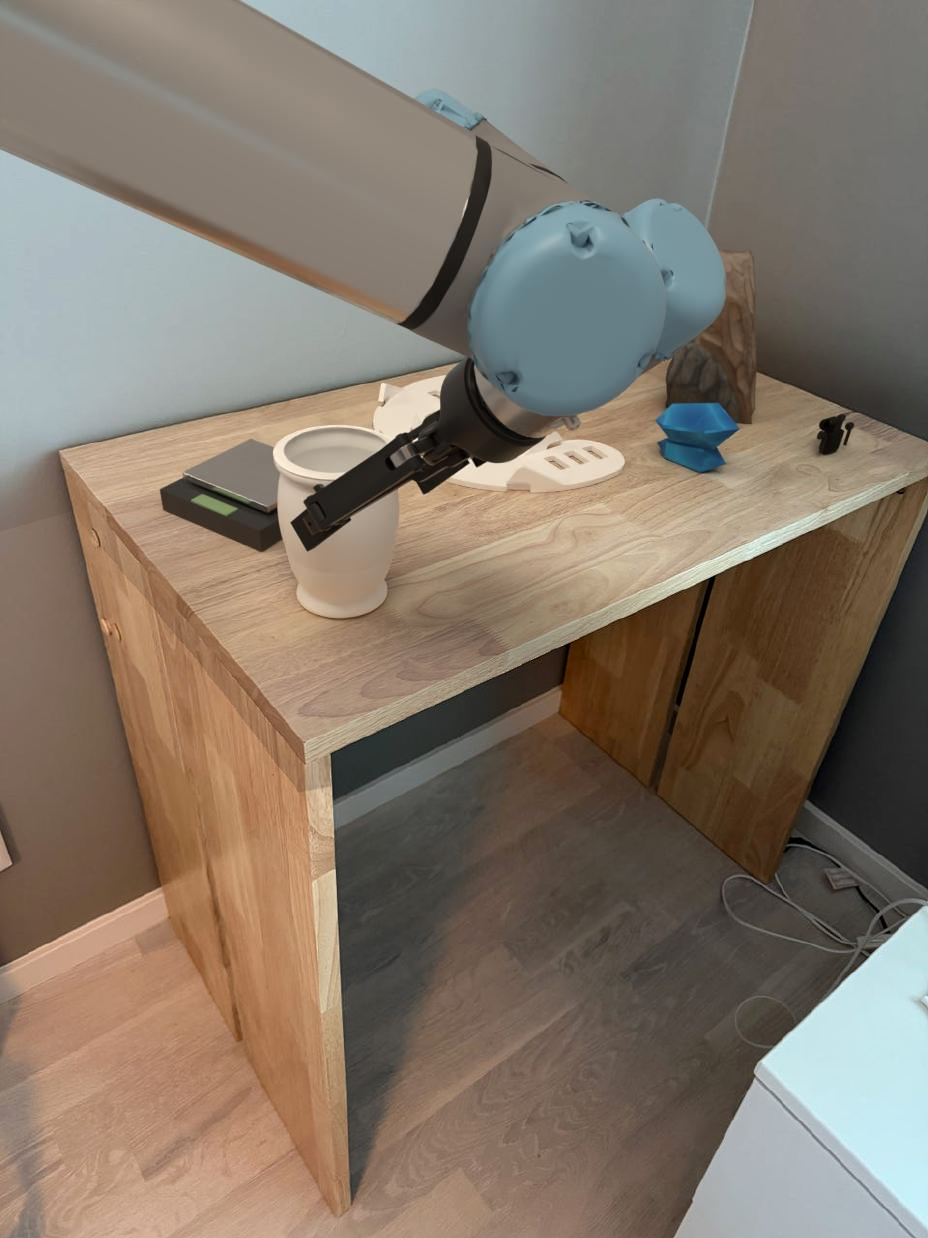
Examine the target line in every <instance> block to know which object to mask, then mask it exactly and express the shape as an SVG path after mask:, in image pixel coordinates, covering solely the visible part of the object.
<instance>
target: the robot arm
mask: <svg viewBox="0 0 928 1238" xmlns="http://www.w3.org/2000/svg"><path fill="white" fill-rule="evenodd" d="M0 151H3V152H5V153H7V154H10V155H12V156H14V157H16V158H19V159H21V160H23V161H25V162H28V163H30V164H32V165H34V166H37V167H39V168H41V169H43V170H45V171H47V172H48V171H49V172H51V173H53V174H55V175H57V176H59V177H62V178H64V179H66V180H68V181H71V182H73V183H76V184H77V185H79V186H83V187H85V188H87V189H89V190H91V191H93V192H96V193H98V194H101V195H103V196H105V197H108V198H110V199H112V200H113V201H116V202H119V203H121V204H123V205H125V206H128V207H130V208H131V209H135V210H137V211H139V212H141V213H144V214H146V215H148V216H151V217H152V218H155V219H157V220H159V221H162V222H164V223H166V224H168V225H170V226H173V227H175V228H177V229H179V230H182V231H185V232H187V233H188V234H189V233H190V234H191V235H193V236H195V237H197V238H200V239H202V240H204V241H207V242H208V243H211V244H214V245H215V246H218V247H221V248H223V249H225V250H228V251H229V252H232V253H234V254H236V255H239V256H241V257H243V258H245V259H248V260H249V261H252V262H255V263H257V264H258V265H259V264H260V265H262V266H264V267H266V268H269V269H271V270H273V271H275V272H277V273H280V274H282V275H284V276H286V277H289V278H291V279H293V280H295V281H298V282H301V283H302V284H304V285H307V286H309V287H312V288H314V289H316V290H318V291H320V292H322V293H325V294H327V295H329V296H332V297H333V298H336V299H339V300H341V301H343V302H345V303H348V304H349V305H352V306H354V307H357V308H359V309H361V310H363V311H366V312H368V313H370V314H372V315H375V316H377V317H379V318H381V319H383V320H386V321H389V322H391V323H393V324H395V325H397V326H400V327H402V328H404V329H407V330H408V331H410V332H412V333H414V334H416V335H418V336H420V337H421V338H424V339H426V340H429V341H431V342H433V343H435V344H438V345H440V346H441V347H443V348H447V349H448V350H451V351H453V352H455V353H458V354H460V355H462V356H464V358H463V359H462V360H461V361H460V362H458V363H457V364H456V365H455V366H454V367H453V368H452V369H450V370H449V372H448V373H447V374H445V375H446V377H445V379H444V381H443V383H442V387H441V391H440V397H439V399H440V410H438V411H436V412H434V413H433V414H431V415H429V416H428V417H426V418H425V419H424V420H423V422H422V424H421V425H420V426H418V427H417V428H415V429H413V430H412V431H410V432H408V433H407V432H406V433H405V432H404V433H400V434H398V435H397V436H395V437H396V438H395V439H393V440H392V441H391V442H389V443H388V444H387V445H386V446H384V447H383V448H382V449H381V450H379V451H378V452H376V453H375V454H373V455H372V456H370V457H369V458H367V459H366V460H364V461H363V462H361V463H360V464H358V465H357V466H355V467H354V468H352V469H351V470H349V471H348V472H346V473H345V474H343V475H342V476H340V477H339V478H337V479H336V480H334V481H333V482H331V483H330V484H328V485H327V486H325V487H324V486H323V484H317V485H315V486H314V487H313V489H314V491H315V492H316V493H315V494H313V495H310V496H308V497H307V499H305V500H304V501H303V503H304V504H305V506H306V508H307V509H305V510H304V511H303V512H302V513H301V514H300V515H298V516H297V517H296V518H295V519H294V520H293V521H291V522H290V523H291V525H292V527H293V528H294V530H295V532H296V534H297V535H298V537H299V539H300V540H301V542H302V544H303V546H304V547H305V549H306V551H307V552H308V551H310V550H312V549H314V548H315V547H317V546H318V545H319V544H321V543H322V542H323V541H325V540H326V539H327V538H329V537H330V536H331V535H333V534H334V533H335V532H337V531H338V530H339V529H340V528H342V527H343V526H344V525H346V524H347V523H348V522H350V521H351V518H350V517H352V516H353V515H355V514H357V513H358V512H360V511H362V510H363V509H365V508H367V507H368V506H370V505H372V504H373V503H375V502H377V501H378V500H380V499H382V498H383V497H385V496H387V495H388V494H390V493H392V492H393V491H395V490H397V489H398V490H399V489H400V488H402V487H403V486H405V485H406V484H408V483H410V482H412V481H414V482H415V483H416V484H417V486H418V488H419V490H420V491H421V494H422V495H423V496H424V495H427V494H428V493H430V492H431V491H433V490H434V489H436V488H438V487H439V486H440V485H442V484H443V483H445V481H446V480H447V479H449V478H450V477H451V476H453V475H454V474H456V473H457V472H458V471H460V470H461V469H463V468H464V467H466V466H467V465H468V464H470V462H469V461H468V459H472V461H473V463H474V465H475V466H476V468H477V467H479V466H481V465H483V464H485V463H486V462H490V463H506V462H509V461H512V460H514V459H515V458H517V457H518V456H520V455H521V454H523V453H524V452H526V451H527V450H529V449H530V448H532V447H533V446H535V445H536V444H538V443H539V442H541V441H542V440H543V439H544V438H545V437H546V436H547V435H549V434H551V433H553V432H554V431H556V432H557V430H559V429H561V428H562V427H563V426H565V428H566V429H567V430H568V431H571V432H573V431H575V430H578V429H579V428H580V426H581V424H582V422H581V419H580V418H579V417H578V416H579V415H580V414H583V413H587V412H591V411H594V410H596V409H598V408H600V407H603V406H605V405H606V404H608V403H610V402H611V401H613V400H615V399H616V398H617V397H619V396H620V395H621V394H623V393H624V392H625V391H627V389H628V388H629V387H631V385H633V384H634V383H635V382H636V380H638V379H639V377H641V376H642V375H643V374H646V373H647V372H649V371H650V370H652V369H654V368H655V367H656V366H658V365H660V364H661V363H663V362H666V361H669V360H670V359H672V357H673V355H674V354H675V353H676V352H677V351H678V350H680V349H681V348H682V347H684V346H685V345H686V344H688V343H689V342H690V341H692V340H693V339H694V338H696V337H697V336H698V335H700V334H701V332H703V331H704V330H705V329H706V328H707V327H709V326H710V325H711V324H712V323H713V322H714V321H715V320H716V319H717V317H718V316H719V314H720V313H721V311H722V309H723V306H724V303H725V299H726V291H725V286H726V273H725V269H724V265H723V261H722V258H721V256H720V253H719V251H718V249H719V248H718V246H717V244H716V243H715V241H714V239H713V237H712V236H711V234H710V233H709V232H708V230H707V229H706V227H705V226H704V225H703V223H702V222H701V221H700V220H699V219H698V218H697V217H696V216H695V215H694V214H693V213H692V212H690V211H689V210H688V209H687V208H685V207H684V206H683V205H681V204H680V203H679V204H678V203H676V202H672V203H668V202H667V201H666V199H662V198H652V199H648V200H646V201H644V202H641V203H640V204H639V205H637V206H635V207H634V208H632V209H630V210H627V211H625V212H624V213H623V214H622V215H620V214H618V213H617V212H615V211H613V210H610V209H608V208H607V207H605V206H603V205H602V204H600V203H598V202H595V201H593V199H591V198H590V197H588V196H586V195H585V194H584V193H582V192H581V191H580V190H578V189H577V188H575V187H574V186H572V185H570V184H569V183H568V182H567V181H566V180H565V179H564V178H563V177H562V176H560V175H558V174H557V173H555V171H553V170H552V169H550V168H549V167H547V166H546V165H545V164H544V163H543V162H541V161H540V160H538V159H537V158H536V157H535V156H533V155H531V154H530V153H529V152H527V151H526V150H525V149H523V147H521V146H520V145H518V144H517V143H516V142H514V141H513V140H512V139H511V138H509V137H508V136H507V135H506V134H504V132H502V131H500V130H499V129H498V128H497V127H495V126H494V125H493V124H492V123H491V122H489V121H488V119H487V118H486V117H485V116H484V115H483V114H481V113H480V112H478V111H473V110H472V109H470V108H469V107H467V106H466V105H465V104H463V103H461V102H460V101H458V100H457V99H456V98H454V97H453V96H451V95H450V94H449V93H447V92H445V91H444V90H441V89H437V88H430V89H426V90H424V91H422V92H420V93H419V94H417V95H416V96H415V97H414V98H413V97H411V96H410V95H408V94H406V93H404V92H402V91H401V90H399V89H398V88H395V87H394V86H393V85H390V84H388V83H386V82H385V81H383V80H382V79H380V78H378V77H377V76H374V75H373V74H371V73H369V72H367V71H366V70H364V69H363V68H360V67H358V66H357V65H355V64H353V63H352V62H350V61H348V60H346V59H345V58H343V57H341V56H339V55H338V54H336V53H334V52H332V51H330V50H329V49H327V48H326V47H324V46H322V45H321V44H318V43H317V42H315V41H313V40H311V39H309V38H308V37H306V36H304V35H302V34H301V33H299V32H297V31H295V30H294V29H292V28H290V27H289V26H287V25H286V24H283V23H281V22H279V21H278V20H276V19H275V18H273V17H271V16H269V15H267V14H266V13H264V12H262V11H260V10H259V9H257V8H255V7H253V6H251V5H250V4H249V3H247V2H244V1H243V0H0ZM417 438H418V440H417V441H415V442H412V441H413V440H415V439H417ZM421 456H422V457H423V458H422V457H421Z"/></svg>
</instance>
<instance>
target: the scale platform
mask: <svg viewBox="0 0 928 1238" xmlns="http://www.w3.org/2000/svg"><path fill="white" fill-rule="evenodd" d="M274 447H275V446H272V445H270V444H266V443H264V442H261V441H258V440H255V439H252V438H249V439H247V440H245V441H243V442H241V443H238V444H237V445H235V446H233V447H231V448H229V449H227V450H225V451H222V452H221V453H218V454H216V455H215V456H212V457H211V458H208V459H207V460H203V462H200V463H198V464H196V465H194V466H192V467H190V468H188V469H186V470H184V471H182V472H181V475H182V478H183V479H185V480H187V481H190V482H192V483H195V484H197V485H200V486H202V487H205V488H207V489H210V490H212V491H215V492H217V493H219V494H222V495H224V496H227V497H229V498H232V499H234V500H237V501H239V502H242V503H244V504H247V505H249V506H252V507H254V508H257V509H259V510H262V511H264V512H267V513H269V512H271V511H273V510H275V509H276V508H278V506H277V499H278V484H279V478H280V474H281V473H280V472H279V471H278V469H277V468H276V466H275V463H274V457H273V449H274Z"/></svg>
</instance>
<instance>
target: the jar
mask: <svg viewBox="0 0 928 1238" xmlns="http://www.w3.org/2000/svg"><path fill="white" fill-rule="evenodd" d="M391 441H392V439H391V438H389V437H388V436H386V435H384V434H382V433H380V432H377V431H374V429H372V428H368V427H362V426H357V425H356V426H355V425H347V424H327V425H317V426H312V427H307V428H303V429H300V430H297V431H294V432H291V433H290V434H287V435H286V436H284V437H282V438H281V439H280V440H278V441H277V442H276V444H274V446H273V447H274V449H273V457H274V463H275V466H276V468H277V469H278V471H279V472H280V473H281V474H280V478H279V484H278V499H277V506H278V519H279V525H280V530H281V535H282V538H283V539H282V541H283V545H284V547H285V551H286V556H287V561H288V563H289V566H290V569H291V571H292V573H293V575H294V577H295V579H296V580H297V582H298V583H297V585H296V591H295V593H296V599H297V601H298V603H299V604H300V605H301V606H302V607H303V608H304V610H307V611H308V612H310V613H312V614H314V615H317V616H320V617H324V618H331V619H349V618H356V617H360V616H363V615H366V614H368V613H371V612H373V611H374V610H376V609H378V608H379V607H380V606H381V605H382V604H383V603H384V602H385V600H386V598H387V596H388V590H389V589H388V585H387V582H386V577H387V575H388V573H389V571H390V568H391V565H392V561H393V557H394V551H395V545H396V541H397V536H398V530H399V524H400V523H399V522H400V495H399V488H398V489H397V490H395V491H393V492H392V493H390V494H388V495H387V496H385V497H383V498H382V499H380V500H378V501H377V502H375V503H373V504H372V505H370V506H368V507H367V508H365V509H363V510H362V511H360V512H358V513H357V514H355V515H353V516H352V517H350V518H351V521H350V522H348V523H347V524H346V525H344V526H343V527H342V528H340V529H339V530H338V531H337V532H335V533H334V534H333V535H331V536H330V537H329V538H327V539H326V540H325V541H323V542H322V543H321V544H319V545H318V546H317V547H315V548H314V549H312V550H310V551H308V552H307V551H306V549H305V547H304V546H303V544H302V542H301V540H300V539H299V537H298V535H297V534H296V532H295V530H294V528H293V527H292V525H291V523H290V522H291V521H293V520H294V519H295V518H296V517H297V516H298V515H300V514H301V513H302V512H303V511H304V510H305V509H307V508H306V506H305V504H304V503H303V501H304V500H305V499H307V497H308V496H310V495H313V494H315V493H316V492H315V491H314V489H313V487H314V486H315V485H317V484H323V486H324V487H325V486H327V485H328V484H330V483H331V482H333V481H334V480H336V479H337V478H339V477H340V476H342V475H343V474H345V473H346V472H348V471H349V470H351V469H352V468H354V467H355V466H357V465H358V464H360V463H361V462H363V461H364V460H366V459H367V458H369V457H370V456H372V455H373V454H375V453H376V452H378V451H379V450H381V449H382V448H383V447H384V446H386V445H387V444H388V443H389V442H391Z"/></svg>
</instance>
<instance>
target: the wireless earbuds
mask: <svg viewBox="0 0 928 1238" xmlns="http://www.w3.org/2000/svg"><path fill="white" fill-rule="evenodd" d="M846 419H847V416H846V414H844V413H841V414H838V415H837V416H836V415H834V416H830V417H826V418H823V419H821V420H820V421H819V423H818V427H819V428H818V429H820V430H819V431H818V433H817V434H816V440H818V441H820V442H819V446H818V454H821V455H827V454H830V453H833V452H836V451H838V450H839V448H840V446H841V442H842V440H843V443H842V446H844V447H846V446H847V444H848V443H849V440H850V439H849V438H850V436H851V433H852V430H853V429H854V428H855V423H854V422H853V421H848V422H846V423H845V424H844V429H845V430H846V434H845V436H844V433H845V430H844V429H842V428H843V427H842V426H843V423H844V422H845V421H846ZM843 437H844V439H843Z"/></svg>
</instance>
